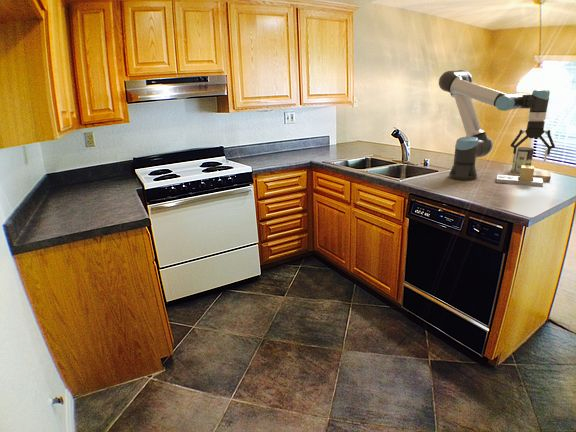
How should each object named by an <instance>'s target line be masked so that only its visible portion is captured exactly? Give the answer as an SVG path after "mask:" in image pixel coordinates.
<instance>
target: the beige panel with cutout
mask: <svg viewBox="0 0 576 432" xmlns="http://www.w3.org/2000/svg"><path fill="white" fill-rule="evenodd" d="M519 176H520V175H508V174H507V175H505V174H497V175H496V181H495V182H496V183H499V184H512V185H523V186H534V187H535V186H536V187H543V185H544V181H543V180H542V178H535V177H533V179H532V181H523V180H519Z"/></svg>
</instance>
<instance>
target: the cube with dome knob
mask: <svg viewBox="0 0 576 432" xmlns="http://www.w3.org/2000/svg"><path fill="white" fill-rule="evenodd" d="M534 171H535V166H534V165H531V166H523V165H521V171H520V173H519V175H518V176H519V180H523V181H532V179H533V174H534Z"/></svg>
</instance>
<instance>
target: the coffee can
mask: <svg viewBox="0 0 576 432" xmlns="http://www.w3.org/2000/svg"><path fill="white" fill-rule="evenodd" d="M517 148H518V152H517V158H516V160H515V154H513V159H512V163H511V164H512V165H511V170H510V171H511V172H513V173H519V174H520V171H521V165H523V166H532V162H533V156H534V151H535V149H534V148H532V147H528V146H527V147H526V146H525V147H524V146H523V147H522V146H518V147H517Z"/></svg>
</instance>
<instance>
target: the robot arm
mask: <svg viewBox="0 0 576 432" xmlns="http://www.w3.org/2000/svg"><path fill="white" fill-rule="evenodd" d="M438 86H439V88H440V89H441V90H442V91H444V92H446V93H449V94H450V96H451V98H454V101H455V103H456V107H457V109H458V112H459V116H460V120H461V122H462V125H463V129H464V132H465V135H466V136H463V137H459V138H458V139H456V141H455V146H454V147H455V148H454V155H453V156H454V157H453V164H452V167H451V169H450V171H449V173H448V178H449V179H452V180H457V181H473V180H474V181H475V180H476V179H478V178H477V177H478V174H477V169H476V161H477V158H481V157H484V156H487V155H488V154H489V153H491V151H492V149H493V146H494V145H493V143H494V142H493V140H492V139H491V137H489V136H487V132H486V131H485V130H482V127H481V124H480V120H479V117H478V115H477V111H476V107H475V105H474V101H473V100H476V101H478V102H480V103H484V104H486V105H490V106H492V107H494V108H496V109H497V110H498V111H501V112H503V111H504V112H505V111H510V110H511V111H512V110H517V109H520V110H522V109H527V110H528V109H529V113H528V121H527V127H526V129H520V130H519V132H518V134H517V135H516V137H515V138H514V140H512V142H511V143H510V147H512V148H513V151H512V152H513V155H514V154H515V160H516V158H517V152H518V148H517V147H520V145H522V143H523V142H525V141H526V140H527V139H528V138H529V139H539V140H541V141H542V143H543V144H544V145H545V147H546V148H545V150H544V151H545V152H544V157H543V162H546V161H547V156H550V154H551V150H552V149H555V148H556V145H555V143H554V140H553V138H552V136H551V129H545V130H544V127H545V122H546V121H545V120H546V118H547V117H546V116H547V111H548V105H549V101H550V94H551V93H550V90H549V89H534V90H533V91H532V93H512V94H507V93H505V92H502V91H499V90H495V89H493V88H489V87H487V86H483V85H480V84H477V83H474V82H473V77H472V74H470V72H468V71H467V70H463V69H460V70H458V69H457V70H447V71H445V72H443V73H442V74H441V75H440V77H439V78H438ZM524 133H525V136H524V137H523V138H521V137H522V135H524ZM543 134H545V135H546V136H547V137H548V140H549V143H550V145H549V143H548V142H547V140H545V138H544V137H543ZM519 138H521V139H520V141H518V140H519ZM517 141H518V142H517Z"/></svg>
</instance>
